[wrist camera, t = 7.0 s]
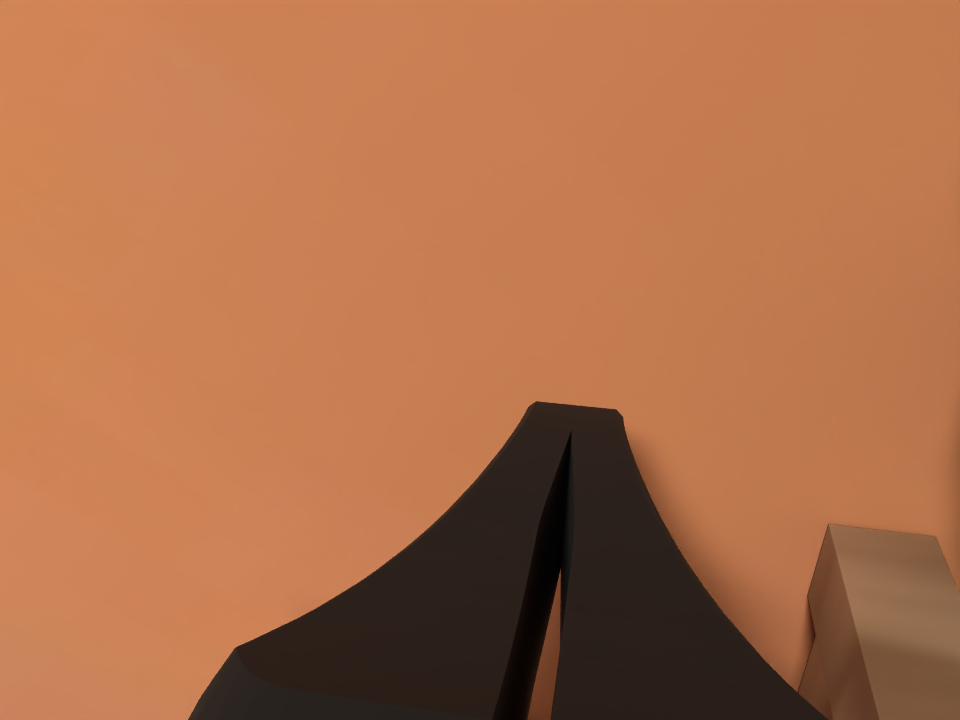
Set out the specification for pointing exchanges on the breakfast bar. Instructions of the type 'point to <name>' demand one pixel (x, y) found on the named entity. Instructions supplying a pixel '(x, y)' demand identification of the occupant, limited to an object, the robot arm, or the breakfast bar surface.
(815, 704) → the stepped wooden block
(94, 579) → the breakfast bar surface
